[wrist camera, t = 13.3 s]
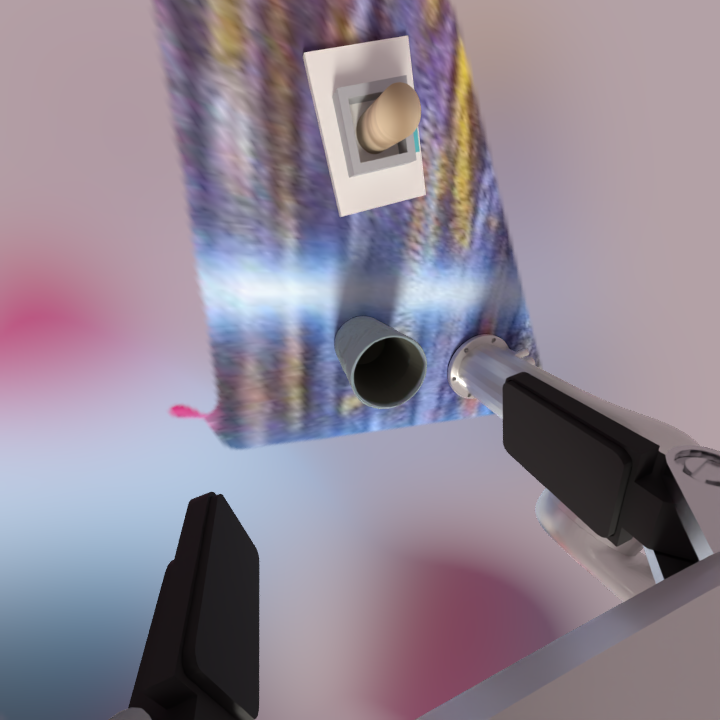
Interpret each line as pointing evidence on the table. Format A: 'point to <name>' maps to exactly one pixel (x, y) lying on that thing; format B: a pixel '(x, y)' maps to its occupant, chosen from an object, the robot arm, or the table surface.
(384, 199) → the white square-hole tray
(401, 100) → the barrel peg
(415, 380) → the grey cylindrical pot
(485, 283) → the table surface
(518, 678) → the robot arm
